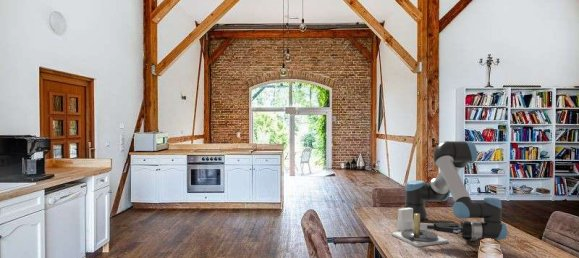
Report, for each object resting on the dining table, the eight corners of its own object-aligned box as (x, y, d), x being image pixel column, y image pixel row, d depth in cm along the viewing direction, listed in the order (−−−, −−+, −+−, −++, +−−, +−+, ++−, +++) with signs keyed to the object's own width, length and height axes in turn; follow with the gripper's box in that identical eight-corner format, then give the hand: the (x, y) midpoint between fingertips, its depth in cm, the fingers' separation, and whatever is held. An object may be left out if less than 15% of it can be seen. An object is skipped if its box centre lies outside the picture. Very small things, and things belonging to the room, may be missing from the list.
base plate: (391, 235, 199) (391, 229, 199) (421, 231, 207) (421, 225, 207) (416, 246, 181) (416, 240, 181) (448, 242, 188) (448, 236, 188)
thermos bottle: (476, 220, 210) (455, 229, 191) (490, 216, 205) (469, 225, 186) (483, 234, 207) (462, 245, 189) (497, 230, 202) (477, 241, 183)
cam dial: (405, 229, 206) (406, 205, 206) (440, 234, 197) (440, 210, 197) (397, 237, 190) (398, 212, 190) (434, 243, 181) (435, 217, 181)
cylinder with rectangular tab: (405, 232, 204) (405, 211, 204) (393, 228, 212) (394, 207, 212) (417, 230, 208) (417, 209, 208) (405, 226, 216) (405, 206, 216)
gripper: (474, 240, 174) (421, 236, 180) (467, 233, 187) (418, 230, 192) (474, 224, 174) (421, 221, 180) (467, 218, 187) (418, 215, 192)
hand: (420, 225), depth 186 cm, fingers closed
